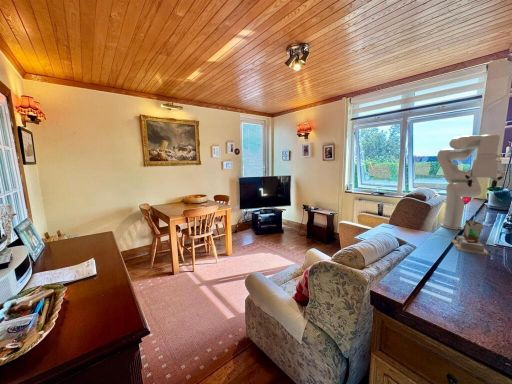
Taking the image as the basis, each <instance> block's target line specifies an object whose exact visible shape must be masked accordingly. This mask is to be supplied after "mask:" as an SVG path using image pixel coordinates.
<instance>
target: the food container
mask: <svg viewBox="0 0 512 384" xmlns="http://www.w3.org/2000/svg"><path fill="white" fill-rule="evenodd" d="M464 223H465V224H464V233H463V236H464V238H465V240H466V242H468V243H478V240H479V239H480V236H481V233H482V230H483V229H484V224H483V223H481V222H479V221H475V220H471V219H466V220H465V222H464ZM479 241H480V240H479Z"/></svg>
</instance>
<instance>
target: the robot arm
mask: <svg viewBox="0 0 512 384" xmlns="http://www.w3.org/2000/svg"><path fill="white" fill-rule="evenodd" d="M500 136H501V135H499V134H482V135H481V134H479V135H477V134H476V135H475V134H473V135H472V134H471V135H462V136H456V137H452V139H451V140H450V141H449V148H443V149H440V150H439V151H438V152H437V155H436V158H437V163H438V165H439V166H440V167H441V170H442V172H443V175H444V178H445V181H446V182H447V183H448V184H447V185H446V188H445V189H446V190H445V192H446V198H445V201H446V202H445V208H444V216H443V222H440V224H439V225H440V227H442V228H445V229H448V230H449V229H450V230H454V231H455V230H457V231H459V230H458V229H461V230H465V226H463V225H462V224H463V223H462V222H463V215H464V209H465V202H464V200H463V198H465V197H466V198H476V197H479V196H480V195H481V194H482V188H481V183H480V181H479V179H478V178H489V179H492V182H491V186H490V187H491V188H492V189H495V188H496V187H497V184H498V182H499V181H500V180H502V179H503V178H504V177H506V175H507V174H506V173H505V172H503V171H500V170H498V166H499V164H498V158H501V154H498V149H499V145H500V140H501V139H500V138H501V137H500ZM477 149H478V151H477V156H476V159H474V160H473V163H472V165H471V169H469V170H461V169H459V166H458V164H456V163H455V162H454V161H465V160H467V159H469V158H470V156H471V155H472V154H473V153H474V151H476V150H477ZM498 174H500V175H499V176H498ZM497 176H498V177H497ZM462 197H463V198H462ZM461 230H460V231H461Z"/></svg>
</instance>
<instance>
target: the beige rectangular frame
mask: <svg viewBox="0 0 512 384" xmlns="http://www.w3.org/2000/svg"><path fill="white" fill-rule="evenodd" d="M451 240H452V241H451V242H452V243H453V245H454V247H455V249H456V250H457V251H461V252H467V253H472V254H473V253H474V254H478V255H484V256H489V255H490V253H489V252H488V251H487V249H485V245H484V244H483V243H482V241H480V240H478V243H468V242H466V240H465V238H464V235H458V234H457V235H456V239H455V238H452V239H451Z"/></svg>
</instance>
